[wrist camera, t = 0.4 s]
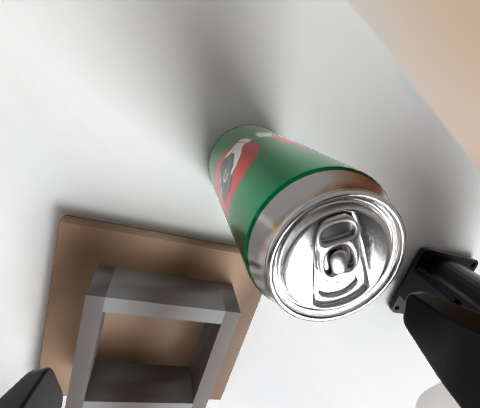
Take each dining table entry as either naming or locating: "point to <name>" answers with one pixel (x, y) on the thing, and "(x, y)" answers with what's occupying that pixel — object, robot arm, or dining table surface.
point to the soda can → (306, 224)
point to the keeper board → (143, 316)
